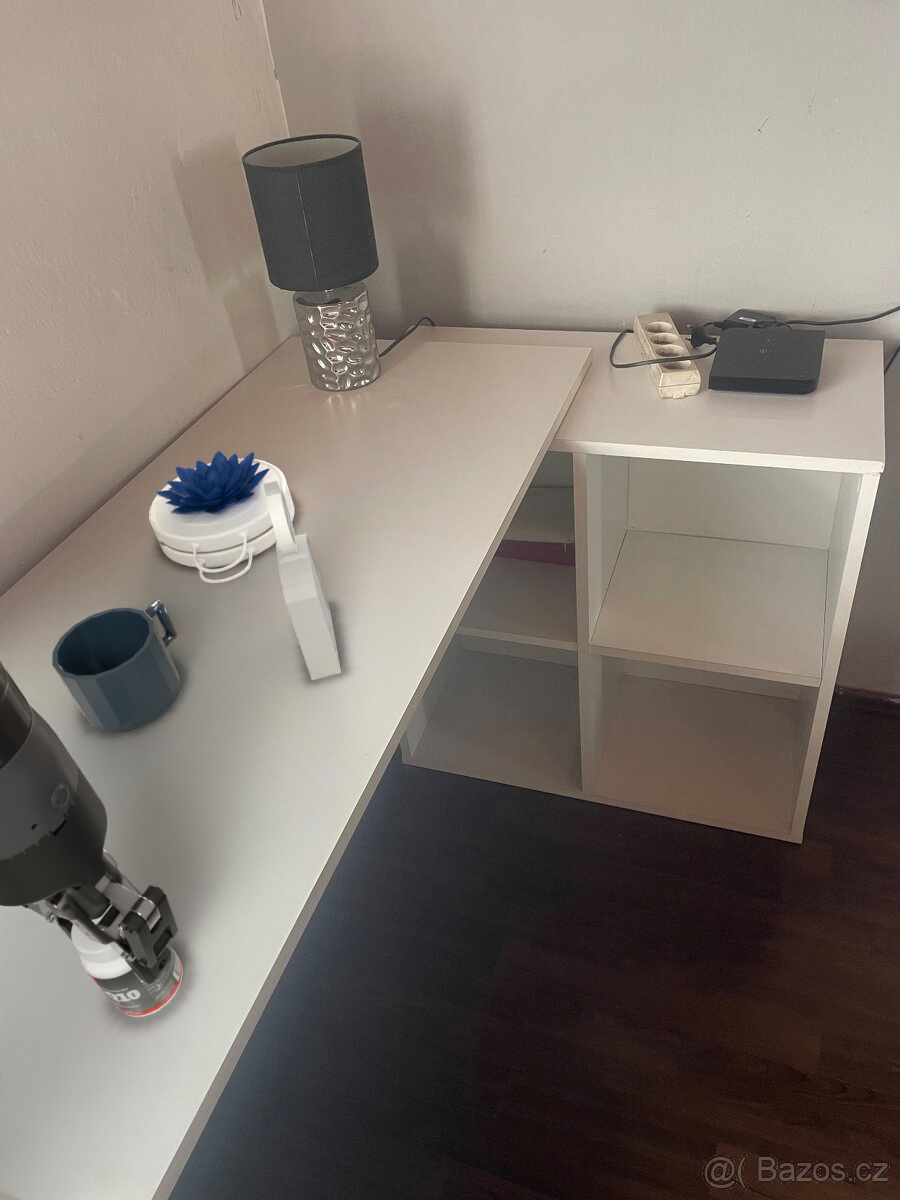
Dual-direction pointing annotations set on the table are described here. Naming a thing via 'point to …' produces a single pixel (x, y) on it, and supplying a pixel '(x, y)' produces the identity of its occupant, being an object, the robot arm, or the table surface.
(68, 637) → the mug
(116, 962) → the pill bottle
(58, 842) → the robot arm
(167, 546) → the white round gift box
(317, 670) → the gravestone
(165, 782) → the table surface
